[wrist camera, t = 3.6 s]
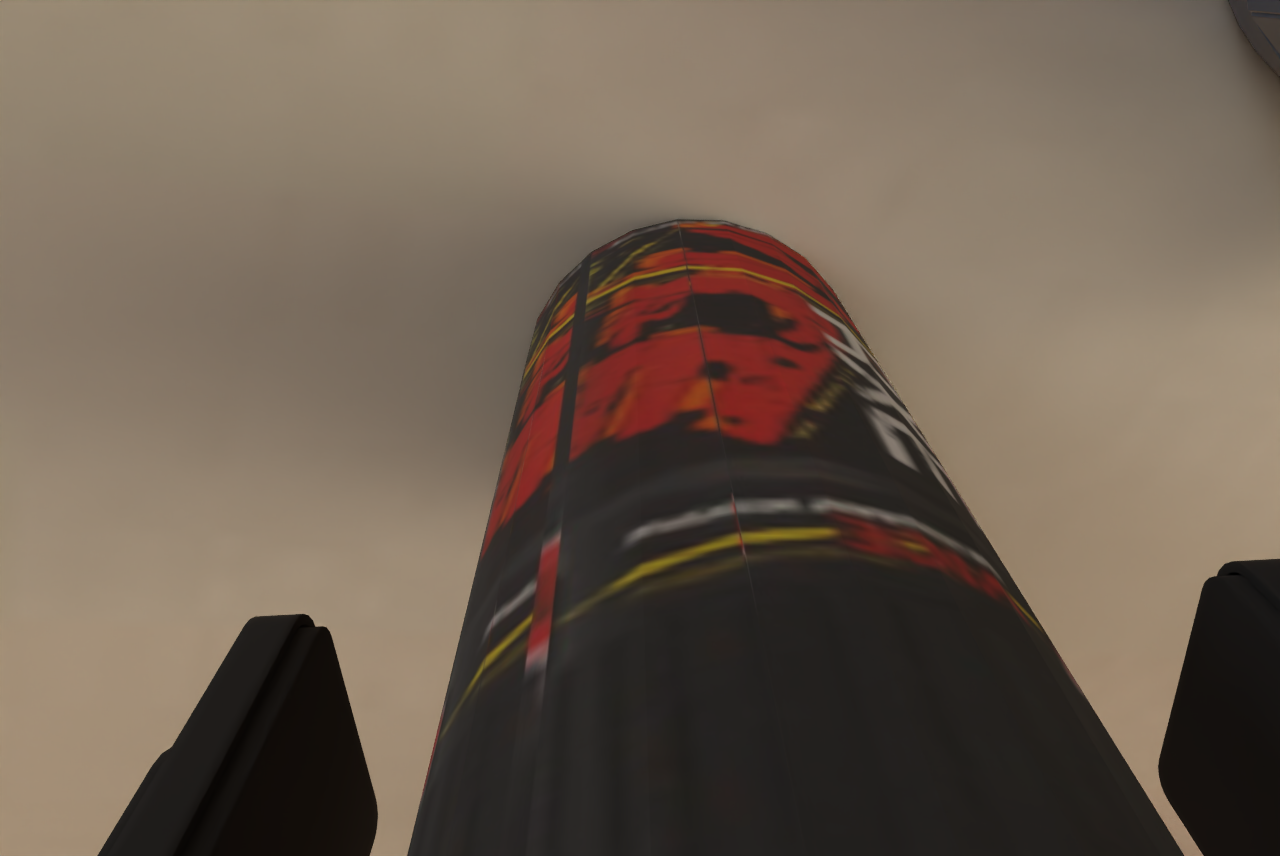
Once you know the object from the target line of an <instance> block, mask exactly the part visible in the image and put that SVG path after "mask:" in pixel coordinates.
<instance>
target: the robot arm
mask: <svg viewBox="0 0 1280 856" xmlns="http://www.w3.org/2000/svg"><path fill="white" fill-rule="evenodd" d="M1158 769H1159V778H1160V782H1161V786H1162V788H1163V791H1164V793H1165V795H1166V797H1167V799H1168V801H1169V802H1170V804H1171V806H1172V807H1173V809H1174V810H1175V812H1176V813H1177V815H1178V816H1179V818H1180V820H1181V821H1182V823H1183V824H1184V826H1185V827H1186V829H1187V830H1188V832H1189V834H1190V835H1191V837H1192V838H1193V840H1194V841H1195V843H1196V845H1197V846H1198V848H1199V849H1200V851H1201V852H1202V854H1203V855H1204V856H1280V559H1269V560H1251V561H1233V562H1229V563H1226V564H1224V565H1223V566H1222V568H1221V569H1220V570H1219V572H1218V574H1217V576H1214V577H1211V578H1209V579H1208V580H1207V581H1206V582H1205V583H1204V586H1203V588H1202V592H1201V596H1200V600H1199V604H1198V608H1197V611H1196V615H1195V619H1194V623H1193V627H1192V631H1191V635H1190V639H1189V643H1188V647H1187V651H1186V655H1185V659H1184V663H1183V667H1182V671H1181V675H1180V679H1179V683H1178V687H1177V691H1176V695H1175V699H1174V703H1173V707H1172V710H1171V714H1170V718H1169V722H1168V726H1167V730H1166V734H1165V738H1164V742H1163V746H1162V750H1161V754H1160V758H1159V765H1158ZM377 820H378V811H377V802H376V798H375V794H374V790H373V787H372V783H371V779H370V775H369V772H368V768H367V764H366V761H365V757H364V753H363V750H362V746H361V742H360V739H359V735H358V731H357V728H356V724H355V720H354V717H353V713H352V709H351V706H350V702H349V698H348V695H347V691H346V687H345V684H344V680H343V676H342V673H341V669H340V665H339V662H338V658H337V654H336V651H335V647H334V643H333V640H332V636H331V634H330V631H329V630H328V629H327V627H315V625H314V622H313V620H312V619H311V618H310V617H309V615H306V614H295V615H277V616H259V617H254V618H251V619H250V620H249V621H248V622H247V623H246V624H245V626H244V627H243V629H242V631H241V632H240V634H239V636H238V637H237V639H236V641H235V642H234V644H233V646H232V647H231V649H230V651H229V652H228V654H227V656H226V657H225V659H224V661H223V662H222V664H221V666H220V667H219V669H218V671H217V672H216V674H215V676H214V678H213V679H212V681H211V683H210V684H209V686H208V688H207V689H206V691H205V693H204V694H203V696H202V698H201V699H200V701H199V703H198V704H197V706H196V708H195V709H194V711H193V713H192V714H191V716H190V718H189V719H188V721H187V723H186V724H185V726H184V728H183V729H182V731H181V733H180V734H179V736H178V738H177V739H176V741H175V743H174V744H173V746H172V747H171V748H170V749H168V750H167V751H165V752H164V753H162V754H161V755H160V757H159V758H158V759H157V760H156V762H155V763H154V764H153V766H152V767H151V769H150V770H149V772H148V774H147V775H146V777H145V778H144V780H143V782H142V783H141V785H140V787H139V788H138V790H137V792H136V793H135V795H134V797H133V798H132V800H131V801H130V803H129V805H128V806H127V808H126V810H125V811H124V813H123V815H122V816H121V818H120V820H119V821H118V823H117V824H116V826H115V828H114V829H113V831H112V833H111V834H110V836H109V838H108V839H107V841H106V843H105V844H104V846H103V848H102V849H101V851H100V852H99V854H98V856H370V853H371V849H372V846H373V843H374V839H375V835H376V830H377Z"/></svg>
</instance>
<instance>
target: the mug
mask: <svg viewBox="0 0 1280 856" xmlns="http://www.w3.org/2000/svg"><path fill="white" fill-rule="evenodd" d="M1228 1H1229V3H1230V6H1231V8H1232V10H1233V13H1234V15H1235V17H1236V20H1237V22H1238V24H1239V26H1240V27H1241V29H1242V30H1243V32H1244V33H1245V35H1246V37H1247V38H1248V40H1249V41H1250V43H1251V44H1252V46H1253V47H1254V49H1255V51H1256V52H1257V53H1258V54H1259V55H1260V56H1261V58H1262V59H1263V60H1264V61H1265V62H1266V63H1267V64H1268V65H1269V66H1270V67H1271V68H1272V69H1273V71H1274V72H1275V73H1276V74H1277V75H1278V76H1279V77H1280V0H1228Z"/></svg>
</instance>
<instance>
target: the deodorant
mask: <svg viewBox="0 0 1280 856" xmlns="http://www.w3.org/2000/svg"><path fill="white" fill-rule="evenodd" d="M407 856H1184V854H1183V853H1182V851H1181V850H1180V848H1179V846H1178V845H1177V843H1176V841H1175V840H1174V838H1173V837H1172V835H1171V833H1170V832H1169V830H1168V829H1167V827H1166V825H1165V824H1164V822H1163V821H1162V819H1161V817H1160V816H1159V814H1158V813H1157V811H1156V809H1155V808H1154V806H1153V804H1152V803H1151V801H1150V800H1149V798H1148V796H1147V795H1146V793H1145V792H1144V790H1143V788H1142V787H1141V785H1140V784H1139V782H1138V780H1137V779H1136V777H1135V776H1134V774H1133V772H1132V771H1131V769H1130V767H1129V766H1128V764H1127V763H1126V761H1125V759H1124V758H1123V756H1122V755H1121V753H1120V751H1119V750H1118V748H1117V747H1116V745H1115V743H1114V742H1113V740H1112V738H1111V737H1110V735H1109V734H1108V732H1107V730H1106V729H1105V727H1104V726H1103V724H1102V722H1101V721H1100V719H1099V718H1098V716H1097V714H1096V713H1095V711H1094V710H1093V708H1092V706H1091V705H1090V703H1089V701H1088V700H1087V698H1086V697H1085V695H1084V693H1083V692H1082V690H1081V689H1080V687H1079V685H1078V684H1077V682H1076V681H1075V679H1074V677H1073V676H1072V674H1071V673H1070V671H1069V669H1068V668H1067V666H1066V664H1065V663H1064V661H1063V660H1062V658H1061V656H1060V655H1059V653H1058V652H1057V650H1056V648H1055V647H1054V645H1053V644H1052V642H1051V640H1050V639H1049V637H1048V635H1047V634H1046V632H1045V631H1044V629H1043V627H1042V626H1041V624H1040V623H1039V621H1038V619H1037V618H1036V616H1035V615H1034V613H1033V611H1032V610H1031V608H1030V607H1029V605H1028V603H1027V602H1026V600H1025V598H1024V597H1023V595H1022V594H1021V592H1020V590H1019V589H1018V587H1017V586H1016V584H1015V582H1014V581H1013V579H1012V578H1011V576H1010V574H1009V573H1008V571H1007V570H1006V568H1005V566H1004V565H1003V563H1002V561H1001V560H1000V558H999V557H998V555H997V553H996V552H995V550H994V549H993V547H992V545H991V544H990V542H989V541H988V539H987V537H986V536H985V534H984V533H983V531H982V529H981V528H980V526H979V524H978V523H977V521H976V520H975V518H974V516H973V515H972V513H971V512H970V510H969V508H968V507H967V505H966V504H965V502H964V500H963V499H962V497H961V495H960V494H959V492H958V491H957V489H956V487H955V486H954V484H953V483H952V481H951V479H950V478H949V476H948V475H947V473H946V471H945V470H944V468H943V467H942V465H941V463H940V462H939V460H938V458H937V457H936V455H935V454H934V452H933V450H932V449H931V447H930V446H929V444H928V442H927V441H926V439H925V438H924V436H923V434H922V433H921V431H920V430H919V428H918V426H917V425H916V423H915V421H914V420H913V418H912V417H911V415H910V413H909V412H908V410H907V409H906V407H905V405H904V404H903V402H902V401H901V399H900V397H899V396H898V394H897V392H896V391H895V389H894V388H893V386H892V384H891V383H890V381H889V380H888V378H887V376H886V375H885V373H884V372H883V370H882V368H881V367H880V365H879V364H878V362H877V360H876V359H875V357H874V355H873V354H872V352H871V351H870V349H869V347H868V346H867V344H866V343H865V341H864V339H863V338H862V336H861V335H860V333H859V331H858V330H857V328H856V327H855V325H854V323H853V322H852V320H851V318H850V317H849V315H848V314H847V312H846V310H845V309H844V307H843V306H842V304H841V302H840V301H839V299H838V298H837V296H836V294H835V293H834V291H833V289H832V288H831V287H830V286H829V285H828V284H827V283H826V281H825V280H824V279H823V278H822V277H821V276H820V275H819V273H818V272H817V271H816V270H815V269H814V268H813V267H812V265H811V264H810V263H809V262H808V261H807V260H806V259H805V257H803V256H801V255H800V254H798V253H797V252H795V251H794V250H792V249H790V248H789V247H787V246H786V245H784V244H783V243H781V242H779V241H778V240H776V239H775V238H773V237H771V236H770V235H768V234H766V233H763V232H760V231H756V230H753V229H750V228H746V227H743V226H740V225H736V224H733V223H730V222H726V221H712V220H674V221H669V222H665V223H661V224H657V225H652V226H648V227H644V228H640V229H636V230H632V231H630V232H628V233H627V234H625V235H623V236H621V237H619V238H617V239H615V240H613V241H611V242H610V243H608V244H606V245H604V246H602V247H600V248H598V249H596V250H594V251H593V252H591V253H590V254H589V255H588V256H587V257H586V258H585V259H584V260H583V261H582V262H581V263H580V264H578V265H577V266H576V267H575V268H574V269H573V270H572V271H571V272H570V273H569V274H568V275H567V276H566V277H565V278H564V279H563V280H561V281H560V282H559V284H558V286H557V287H556V289H555V291H554V292H553V294H552V296H551V297H550V299H549V301H548V302H547V304H546V306H545V307H544V309H543V311H542V312H541V314H540V316H539V317H538V319H537V323H536V327H535V331H534V334H533V338H532V342H531V346H530V349H529V353H528V357H527V361H526V365H525V369H524V373H523V378H522V382H521V386H520V390H519V394H518V398H517V403H516V407H515V411H514V415H513V419H512V423H511V427H510V432H509V436H508V440H507V444H506V448H505V452H504V456H503V461H502V465H501V469H500V473H499V477H498V481H497V486H496V490H495V494H494V498H493V502H492V506H491V510H490V515H489V519H488V523H487V527H486V531H485V535H484V539H483V544H482V548H481V552H480V556H479V560H478V564H477V569H476V573H475V577H474V581H473V585H472V589H471V593H470V598H469V602H468V606H467V610H466V614H465V618H464V622H463V627H462V631H461V635H460V639H459V643H458V647H457V652H456V656H455V660H454V664H453V668H452V672H451V676H450V681H449V685H448V689H447V693H446V697H445V701H444V706H443V710H442V714H441V718H440V722H439V726H438V730H437V735H436V739H435V743H434V747H433V751H432V755H431V759H430V764H429V768H428V772H427V776H426V780H425V784H424V789H423V793H422V797H421V801H420V805H419V809H418V813H417V818H416V822H415V826H414V830H413V834H412V838H411V842H410V847H409V851H408V855H407Z"/></svg>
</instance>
